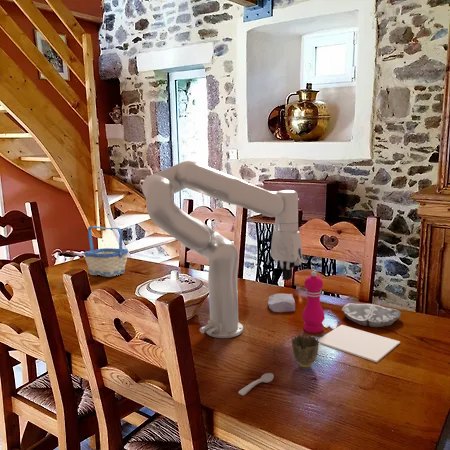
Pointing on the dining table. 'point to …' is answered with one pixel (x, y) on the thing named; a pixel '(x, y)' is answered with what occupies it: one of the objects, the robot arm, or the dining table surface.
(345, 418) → the dining table surface
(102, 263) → the basket
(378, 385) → the dining table surface
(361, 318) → the brain slice
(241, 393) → the spoon
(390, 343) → the white mat
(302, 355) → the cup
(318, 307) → the pepper mill
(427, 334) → the dining table surface
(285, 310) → the stone block
